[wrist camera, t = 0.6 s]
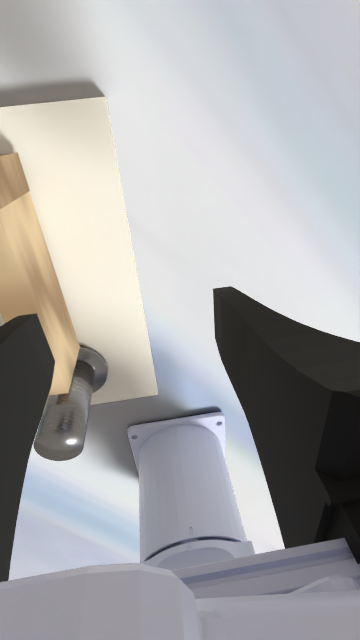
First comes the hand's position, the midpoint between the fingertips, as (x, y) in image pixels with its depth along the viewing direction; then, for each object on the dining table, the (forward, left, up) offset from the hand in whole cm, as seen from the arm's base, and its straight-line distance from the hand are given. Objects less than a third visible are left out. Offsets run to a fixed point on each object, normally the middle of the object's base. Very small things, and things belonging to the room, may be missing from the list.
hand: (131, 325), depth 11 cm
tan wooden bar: (0, +5, -7) cm, 9 cm away
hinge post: (-7, +5, -8) cm, 12 cm away
